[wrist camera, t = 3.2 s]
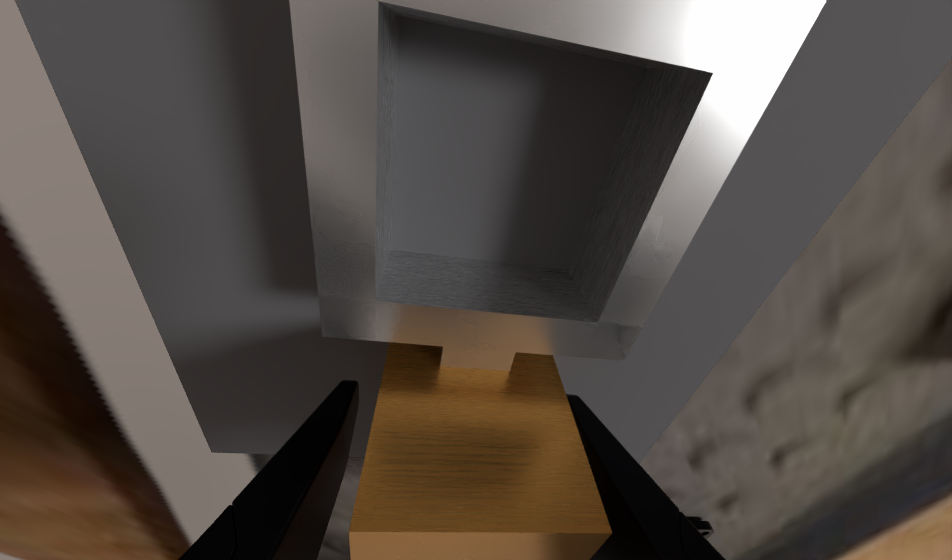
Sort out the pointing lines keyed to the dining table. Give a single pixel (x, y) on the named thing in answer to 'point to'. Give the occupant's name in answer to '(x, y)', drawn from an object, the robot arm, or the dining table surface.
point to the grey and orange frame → (511, 285)
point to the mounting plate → (440, 188)
